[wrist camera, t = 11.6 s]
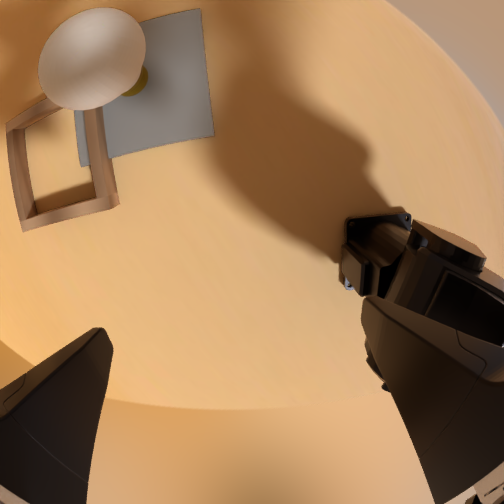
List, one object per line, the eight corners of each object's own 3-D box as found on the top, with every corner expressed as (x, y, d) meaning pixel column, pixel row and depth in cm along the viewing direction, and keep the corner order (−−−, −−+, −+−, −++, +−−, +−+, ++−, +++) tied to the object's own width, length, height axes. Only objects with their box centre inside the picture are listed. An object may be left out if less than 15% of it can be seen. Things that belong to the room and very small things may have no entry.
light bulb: (88, 99, 15) (1, 84, 6) (132, 38, 14) (68, -17, 5) (141, 133, 17) (62, 127, 8) (189, 67, 15) (150, 5, 6)
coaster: (200, 11, 14) (199, 8, 13) (214, 135, 18) (214, 135, 18) (76, 50, 14) (73, 49, 13) (83, 166, 18) (80, 167, 17)
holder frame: (103, 80, 15) (93, 75, 14) (119, 204, 19) (110, 209, 18) (17, 123, 15) (5, 123, 14) (33, 226, 19) (22, 232, 18)
